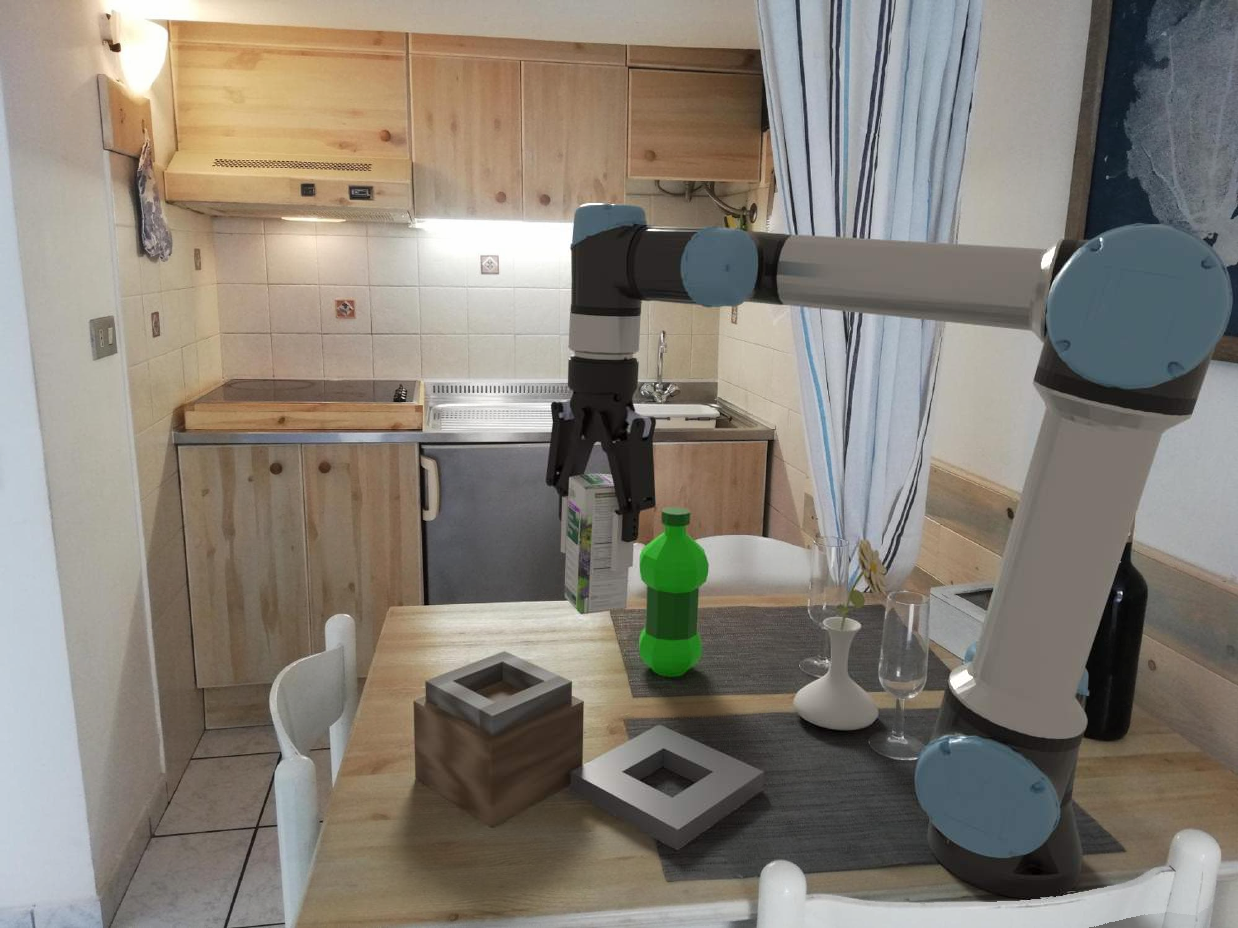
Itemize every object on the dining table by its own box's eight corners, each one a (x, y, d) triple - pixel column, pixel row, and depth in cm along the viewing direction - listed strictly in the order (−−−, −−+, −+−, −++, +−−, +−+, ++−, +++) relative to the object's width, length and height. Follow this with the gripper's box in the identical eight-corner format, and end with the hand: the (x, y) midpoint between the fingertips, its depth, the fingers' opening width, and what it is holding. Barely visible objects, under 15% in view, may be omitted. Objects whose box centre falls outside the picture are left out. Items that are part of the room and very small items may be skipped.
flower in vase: (842, 747, 120) (858, 563, 115) (775, 714, 129) (786, 540, 123) (901, 718, 128) (918, 544, 123) (834, 688, 137) (847, 524, 132)
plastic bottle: (695, 688, 136) (703, 523, 130) (626, 677, 139) (631, 515, 134) (710, 661, 145) (718, 506, 140) (645, 651, 148) (650, 499, 143)
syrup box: (562, 597, 107) (565, 475, 104) (610, 591, 110) (614, 471, 106) (579, 615, 102) (583, 487, 99) (629, 609, 104) (634, 484, 101)
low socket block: (762, 790, 110) (763, 771, 109) (677, 850, 98) (678, 829, 98) (658, 742, 120) (659, 724, 120) (570, 791, 109) (570, 771, 108)
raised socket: (582, 777, 112) (584, 681, 109) (491, 827, 102) (491, 722, 99) (505, 736, 121) (505, 646, 118) (415, 778, 111) (413, 680, 108)
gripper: (699, 363, 95) (686, 575, 101) (564, 343, 109) (559, 531, 114) (651, 367, 90) (640, 591, 95) (515, 346, 103) (511, 543, 109)
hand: (596, 558), depth 105 cm, fingers closed on syrup box, 7 cm apart
